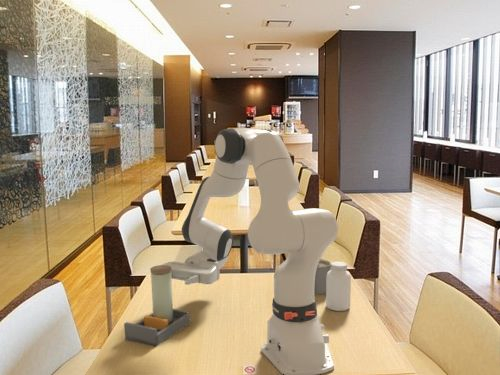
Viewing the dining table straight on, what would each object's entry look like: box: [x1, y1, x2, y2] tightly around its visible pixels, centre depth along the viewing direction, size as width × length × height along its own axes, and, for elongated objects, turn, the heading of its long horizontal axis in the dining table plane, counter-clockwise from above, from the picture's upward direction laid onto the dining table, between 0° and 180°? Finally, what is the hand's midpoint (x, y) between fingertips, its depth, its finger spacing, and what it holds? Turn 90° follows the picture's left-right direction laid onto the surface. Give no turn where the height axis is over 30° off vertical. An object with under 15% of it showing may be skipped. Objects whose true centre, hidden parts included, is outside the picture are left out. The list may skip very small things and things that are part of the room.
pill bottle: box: [325, 261, 352, 312], centre depth 171 cm, size 8×8×15 cm
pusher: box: [143, 314, 168, 330], centre depth 155 cm, size 1×8×3 cm, turn 64°
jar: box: [149, 264, 174, 325], centre depth 157 cm, size 6×6×18 cm
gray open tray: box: [123, 308, 191, 347], centre depth 156 cm, size 18×11×5 cm, turn 154°
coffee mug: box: [314, 258, 332, 295], centre depth 188 cm, size 13×10×10 cm
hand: (173, 280), depth 163 cm, fingers open, 8 cm apart
